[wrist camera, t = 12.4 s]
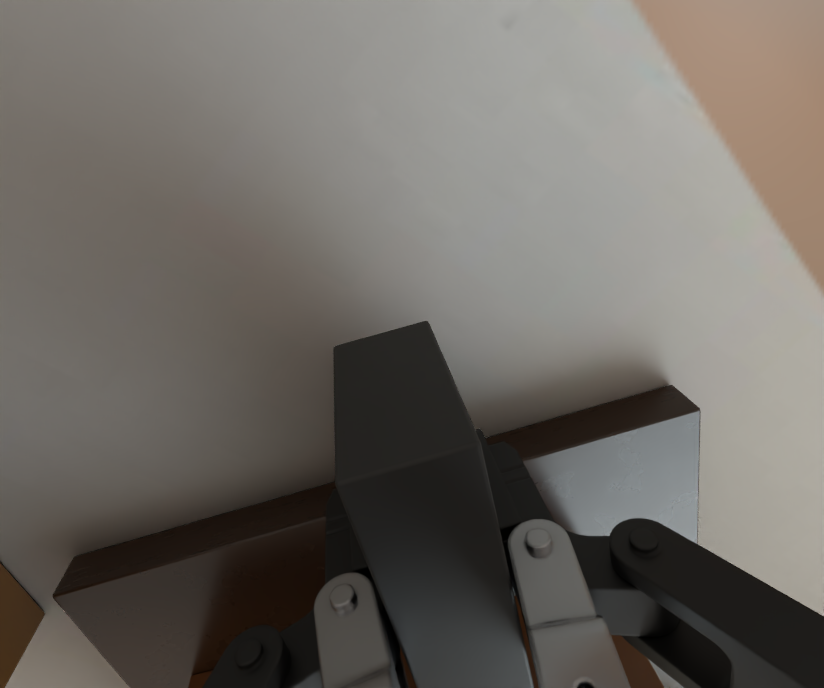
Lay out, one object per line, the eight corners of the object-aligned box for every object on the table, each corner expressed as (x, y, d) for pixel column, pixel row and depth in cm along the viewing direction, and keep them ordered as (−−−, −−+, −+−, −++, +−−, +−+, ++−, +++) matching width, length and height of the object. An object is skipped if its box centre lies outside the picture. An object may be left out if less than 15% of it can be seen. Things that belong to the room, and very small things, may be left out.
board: (73, 556, 16) (50, 597, 15) (671, 383, 17) (701, 408, 15) (288, 830, 25) (286, 871, 24) (674, 713, 26) (693, 747, 25)
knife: (332, 345, 12) (333, 484, 8) (427, 318, 13) (481, 442, 8) (481, 775, 22) (520, 946, 18) (535, 759, 22) (586, 925, 18)
